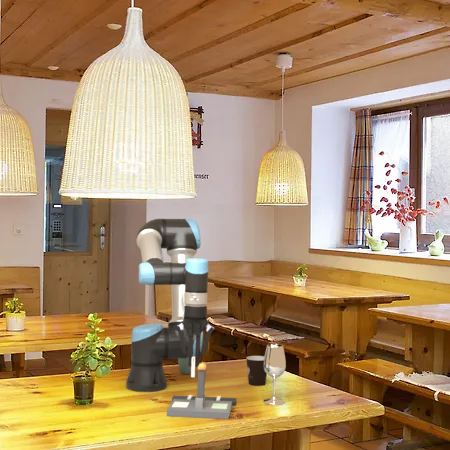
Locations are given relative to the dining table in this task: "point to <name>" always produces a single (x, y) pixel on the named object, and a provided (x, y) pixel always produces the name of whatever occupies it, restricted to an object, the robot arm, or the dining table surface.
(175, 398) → the dressed cords
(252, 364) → the coffee mug
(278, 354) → the wineglass
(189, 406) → the breaker panel
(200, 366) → the breaker lever
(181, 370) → the cup
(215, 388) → the dining table surface
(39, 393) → the dining table surface
